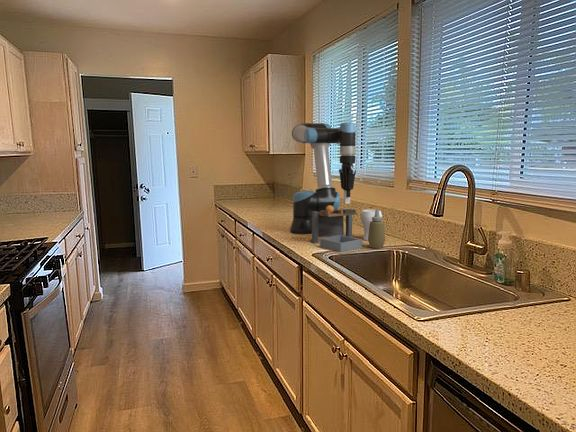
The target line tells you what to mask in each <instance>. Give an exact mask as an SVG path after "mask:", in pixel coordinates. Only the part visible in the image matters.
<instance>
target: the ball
mask: <svg viewBox="0 0 576 432" xmlns="http://www.w3.org/2000/svg"><path fill="white" fill-rule="evenodd" d="M326 211H330V213H332V212H333V211H334V208H333V206H331V205H329V206H327V207H326Z"/></svg>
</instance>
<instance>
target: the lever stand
mask: <svg viewBox="0 0 576 432" xmlns="http://www.w3.org/2000/svg"><path fill="white" fill-rule="evenodd" d="M345 236H348V237H353V238H356V237H354V236H353V215H346V216H345ZM309 243H312V244H320V240H319V237H318V212H317V211H312V234H311V239H309Z"/></svg>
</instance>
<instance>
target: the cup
mask: <svg viewBox="0 0 576 432" xmlns="http://www.w3.org/2000/svg"><path fill="white" fill-rule="evenodd" d="M378 210H379V209H378ZM375 211H376V209H362V210H361V214H360V221H361V224H362V226H363V231H364V232H363V237H362V238H363V239H362V240H364V241H368V234H369V226H370V222H372V217H374V216H375ZM379 215H380V217H382V218H383V214H382V211H381V210H379ZM368 242H369V241H368Z"/></svg>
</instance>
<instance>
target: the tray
mask: <svg viewBox="0 0 576 432" xmlns="http://www.w3.org/2000/svg"><path fill="white" fill-rule="evenodd" d="M353 237H354V236H352V237H348V236H346V235H338V236H327V237H320V238H319V247H320V248H323V249H327V250H330V251H334V250H335V252H338V251H340V252H339V253H343V251H344V252H348V250H349V251H353V249H354V250H358V248H359V249H362V248H363V239H361V238H357V237H355V238H353Z"/></svg>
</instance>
